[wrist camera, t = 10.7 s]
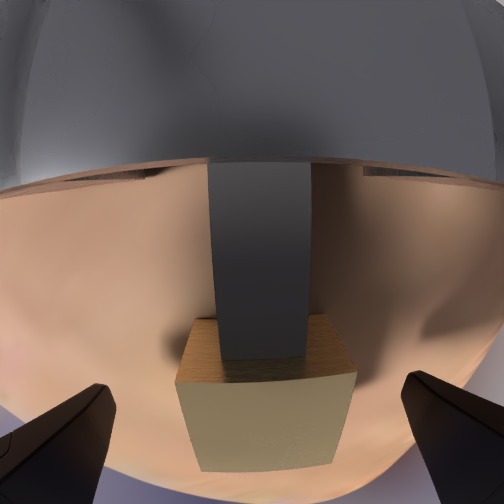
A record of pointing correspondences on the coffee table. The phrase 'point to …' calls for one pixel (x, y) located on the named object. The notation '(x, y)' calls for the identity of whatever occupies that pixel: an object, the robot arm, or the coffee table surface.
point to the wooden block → (265, 402)
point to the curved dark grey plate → (249, 88)
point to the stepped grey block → (261, 257)
